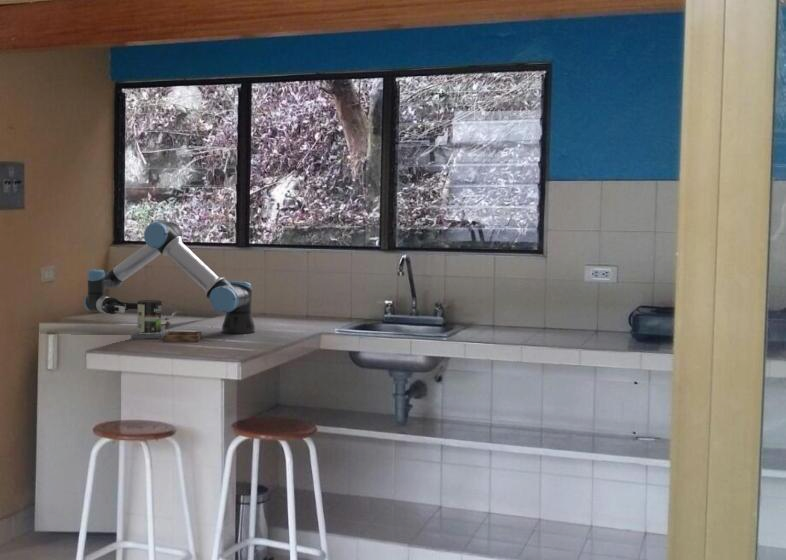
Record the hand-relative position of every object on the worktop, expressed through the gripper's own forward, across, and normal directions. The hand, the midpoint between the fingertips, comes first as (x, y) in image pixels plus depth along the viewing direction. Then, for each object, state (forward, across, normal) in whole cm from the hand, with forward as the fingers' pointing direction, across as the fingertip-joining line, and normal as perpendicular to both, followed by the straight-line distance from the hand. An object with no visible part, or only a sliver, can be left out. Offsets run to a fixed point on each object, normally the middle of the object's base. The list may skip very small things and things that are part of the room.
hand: (137, 308), depth 403 cm
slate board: (+8, 0, -12) cm, 14 cm away
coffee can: (+8, 0, -10) cm, 13 cm away
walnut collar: (+25, -5, -12) cm, 28 cm away
